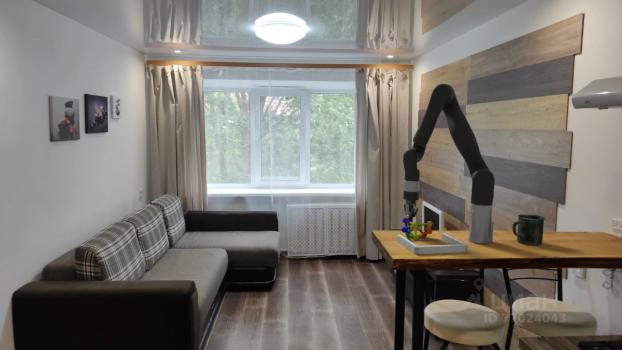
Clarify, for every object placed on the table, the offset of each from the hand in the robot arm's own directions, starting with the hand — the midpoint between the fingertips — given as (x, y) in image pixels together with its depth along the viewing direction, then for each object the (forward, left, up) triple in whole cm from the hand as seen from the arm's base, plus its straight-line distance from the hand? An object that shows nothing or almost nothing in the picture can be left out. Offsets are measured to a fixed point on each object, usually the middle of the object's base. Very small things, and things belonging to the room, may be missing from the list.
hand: (409, 225), depth 212 cm
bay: (0, +23, -4) cm, 23 cm away
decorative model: (0, +8, -4) cm, 9 cm away
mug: (-46, +24, -4) cm, 52 cm away
